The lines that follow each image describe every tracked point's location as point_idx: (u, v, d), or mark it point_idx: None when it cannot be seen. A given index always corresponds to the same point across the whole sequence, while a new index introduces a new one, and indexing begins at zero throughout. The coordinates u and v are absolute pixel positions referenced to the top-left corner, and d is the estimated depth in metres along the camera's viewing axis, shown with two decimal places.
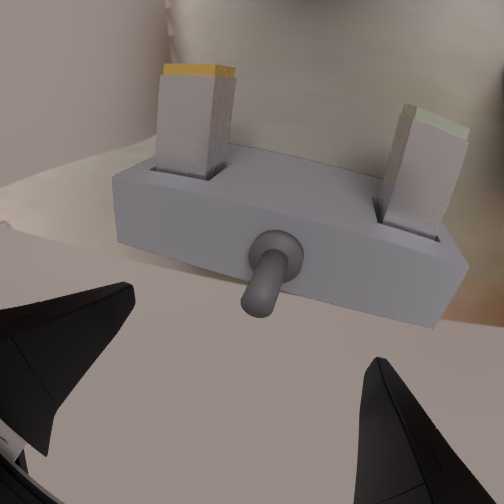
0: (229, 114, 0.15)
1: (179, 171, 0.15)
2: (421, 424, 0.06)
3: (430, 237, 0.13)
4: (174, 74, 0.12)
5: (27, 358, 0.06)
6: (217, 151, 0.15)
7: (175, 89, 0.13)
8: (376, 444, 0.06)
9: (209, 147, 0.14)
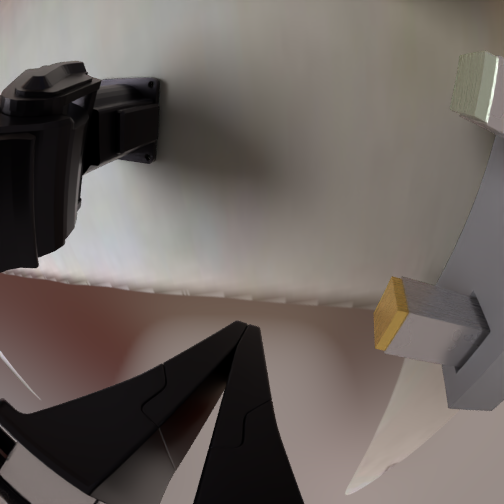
0: (434, 289, 0.14)
1: (470, 350, 0.12)
2: (251, 391, 0.06)
3: None
4: (390, 342, 0.14)
5: (166, 440, 0.05)
6: (466, 311, 0.13)
7: (404, 344, 0.13)
8: None
9: (465, 324, 0.12)
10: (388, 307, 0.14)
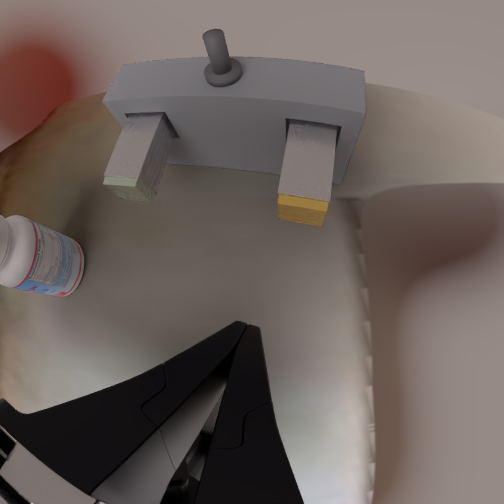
0: None
1: (313, 125, 0.17)
2: (251, 391, 0.06)
3: (131, 114, 0.19)
4: (316, 199, 0.16)
5: (166, 440, 0.05)
6: None
7: (314, 186, 0.17)
8: None
9: (286, 142, 0.18)
10: (292, 213, 0.18)
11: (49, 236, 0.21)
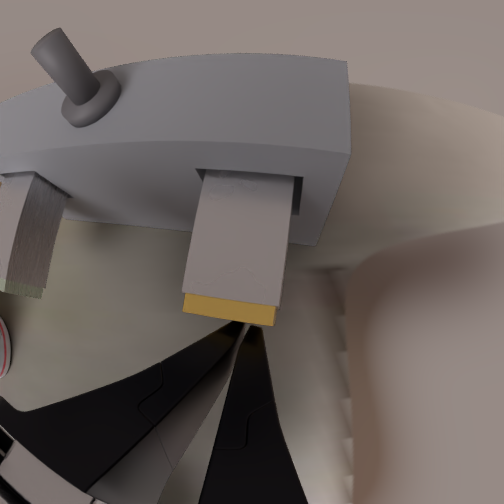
0: None
1: None
2: (254, 392, 0.06)
3: (7, 175, 0.11)
4: (252, 303, 0.09)
5: (163, 439, 0.05)
6: None
7: (249, 276, 0.09)
8: None
9: (204, 186, 0.10)
10: None
11: None
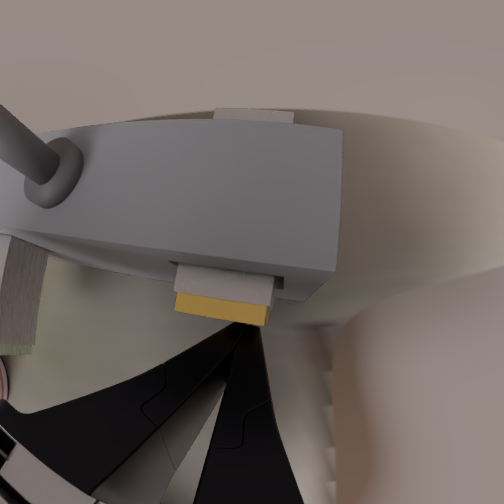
0: None
1: None
2: (251, 391, 0.06)
3: None
4: (243, 303, 0.09)
5: (166, 440, 0.05)
6: None
7: (241, 276, 0.09)
8: None
9: None
10: None
11: None
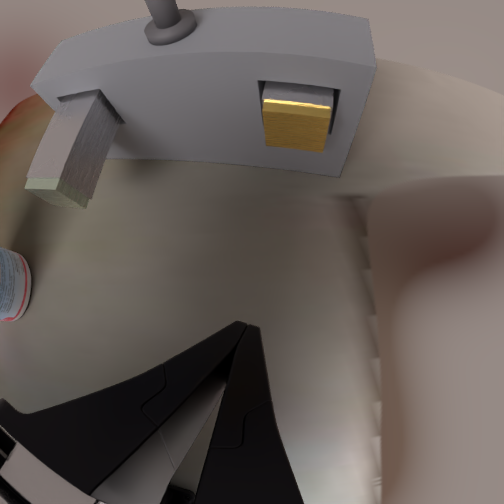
0: None
1: None
2: (251, 391, 0.06)
3: (64, 98, 0.13)
4: (314, 105, 0.11)
5: (166, 440, 0.05)
6: None
7: (311, 91, 0.11)
8: None
9: None
10: (282, 128, 0.12)
11: None
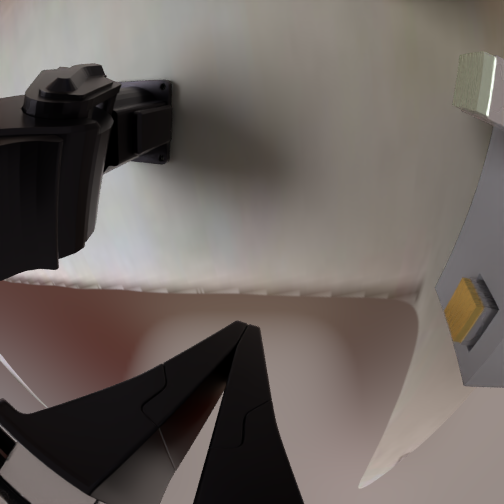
0: None
1: None
2: (251, 391, 0.06)
3: None
4: (465, 334, 0.14)
5: (166, 440, 0.05)
6: None
7: (476, 335, 0.13)
8: None
9: None
10: (463, 304, 0.14)
11: None
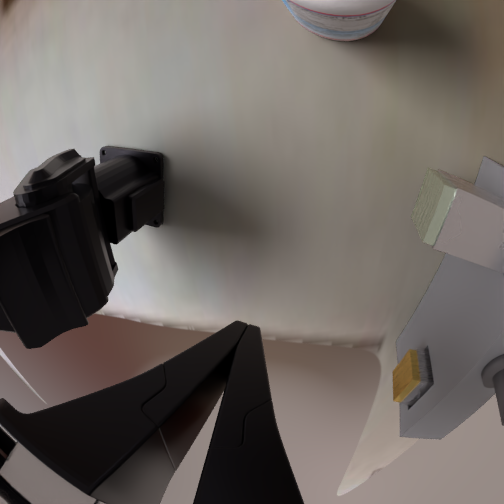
0: None
1: None
2: (251, 391, 0.06)
3: None
4: (404, 397, 0.17)
5: (166, 440, 0.05)
6: None
7: (415, 398, 0.17)
8: None
9: None
10: (405, 373, 0.17)
11: (377, 18, 0.09)
